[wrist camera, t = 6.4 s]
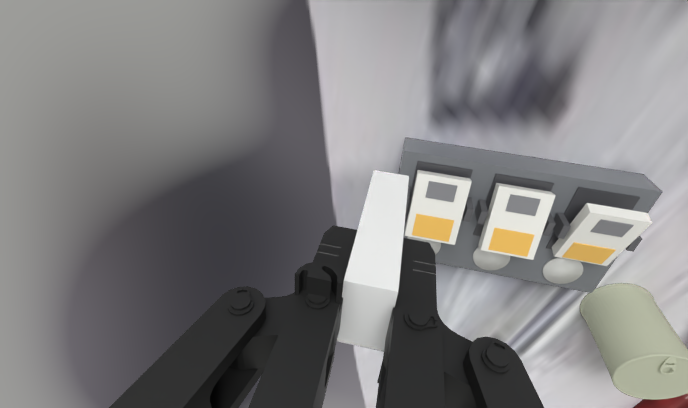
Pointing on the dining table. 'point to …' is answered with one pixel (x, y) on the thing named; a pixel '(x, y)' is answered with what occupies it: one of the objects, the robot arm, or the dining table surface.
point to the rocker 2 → (600, 234)
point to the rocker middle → (515, 220)
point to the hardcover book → (665, 402)
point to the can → (636, 342)
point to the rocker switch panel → (548, 175)
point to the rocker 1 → (437, 206)
